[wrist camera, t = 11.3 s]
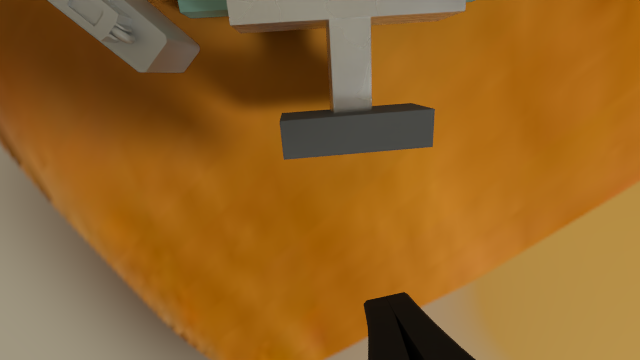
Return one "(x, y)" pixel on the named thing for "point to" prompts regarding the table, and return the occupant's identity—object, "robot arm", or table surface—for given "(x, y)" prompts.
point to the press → (208, 8)
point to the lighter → (134, 33)
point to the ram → (346, 73)
